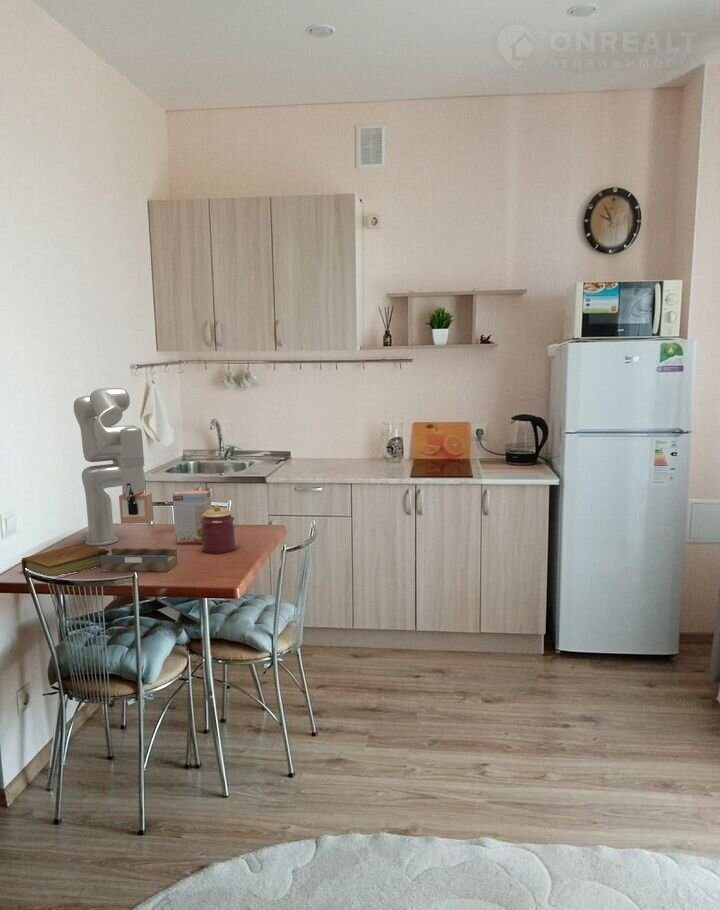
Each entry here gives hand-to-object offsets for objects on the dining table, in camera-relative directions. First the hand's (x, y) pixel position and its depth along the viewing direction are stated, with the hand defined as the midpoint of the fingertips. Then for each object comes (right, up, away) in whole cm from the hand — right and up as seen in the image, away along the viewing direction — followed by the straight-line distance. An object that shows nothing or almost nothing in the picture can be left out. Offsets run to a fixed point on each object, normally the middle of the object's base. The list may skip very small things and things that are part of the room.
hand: (136, 512), depth 256 cm
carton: (0, -3, +1) cm, 4 cm away
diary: (-26, -21, +4) cm, 34 cm away
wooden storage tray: (+1, -20, +2) cm, 20 cm away
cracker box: (+13, -15, +35) cm, 40 cm away
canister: (+25, -16, +24) cm, 38 cm away
